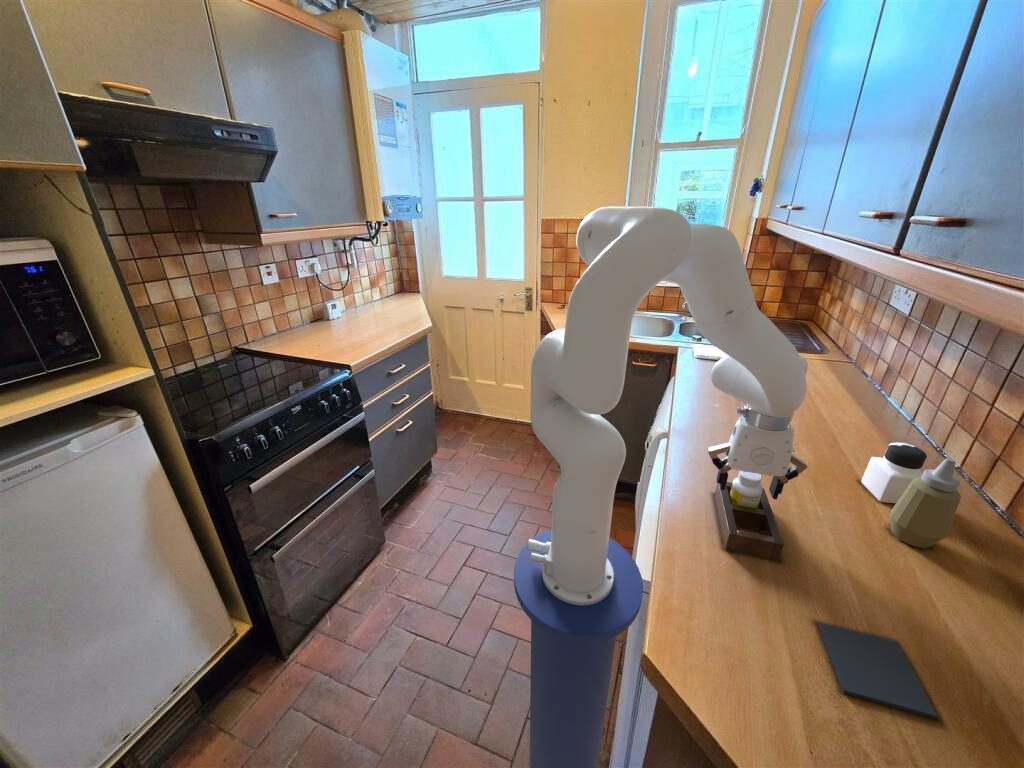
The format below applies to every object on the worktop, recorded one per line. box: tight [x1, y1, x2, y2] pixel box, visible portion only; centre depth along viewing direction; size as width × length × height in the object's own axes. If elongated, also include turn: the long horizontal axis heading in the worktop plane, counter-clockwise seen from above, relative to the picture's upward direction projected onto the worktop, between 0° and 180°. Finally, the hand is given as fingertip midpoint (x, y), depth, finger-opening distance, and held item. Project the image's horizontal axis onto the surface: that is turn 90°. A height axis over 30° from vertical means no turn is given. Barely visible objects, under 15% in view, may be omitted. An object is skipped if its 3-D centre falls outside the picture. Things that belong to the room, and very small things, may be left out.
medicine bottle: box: [860, 442, 928, 504], centre depth 87 cm, size 7×7×12 cm
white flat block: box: [693, 344, 729, 361], centre depth 170 cm, size 13×20×2 cm, turn 69°
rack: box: [714, 481, 785, 562], centre depth 81 cm, size 9×16×4 cm, turn 162°
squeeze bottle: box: [889, 457, 962, 549], centre depth 75 cm, size 8×8×18 cm
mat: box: [817, 622, 939, 720], centre depth 57 cm, size 10×10×1 cm
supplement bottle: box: [729, 471, 764, 509], centre depth 83 cm, size 5×5×10 cm
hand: (746, 490), depth 83 cm, fingers open, 9 cm apart
